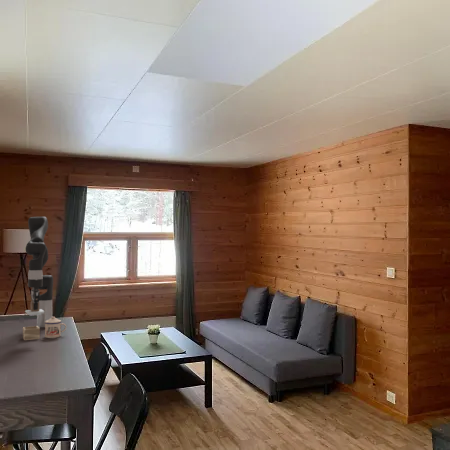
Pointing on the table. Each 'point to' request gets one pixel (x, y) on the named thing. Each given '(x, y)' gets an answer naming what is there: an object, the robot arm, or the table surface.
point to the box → (31, 333)
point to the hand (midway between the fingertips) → (34, 308)
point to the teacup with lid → (53, 328)
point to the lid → (34, 312)
